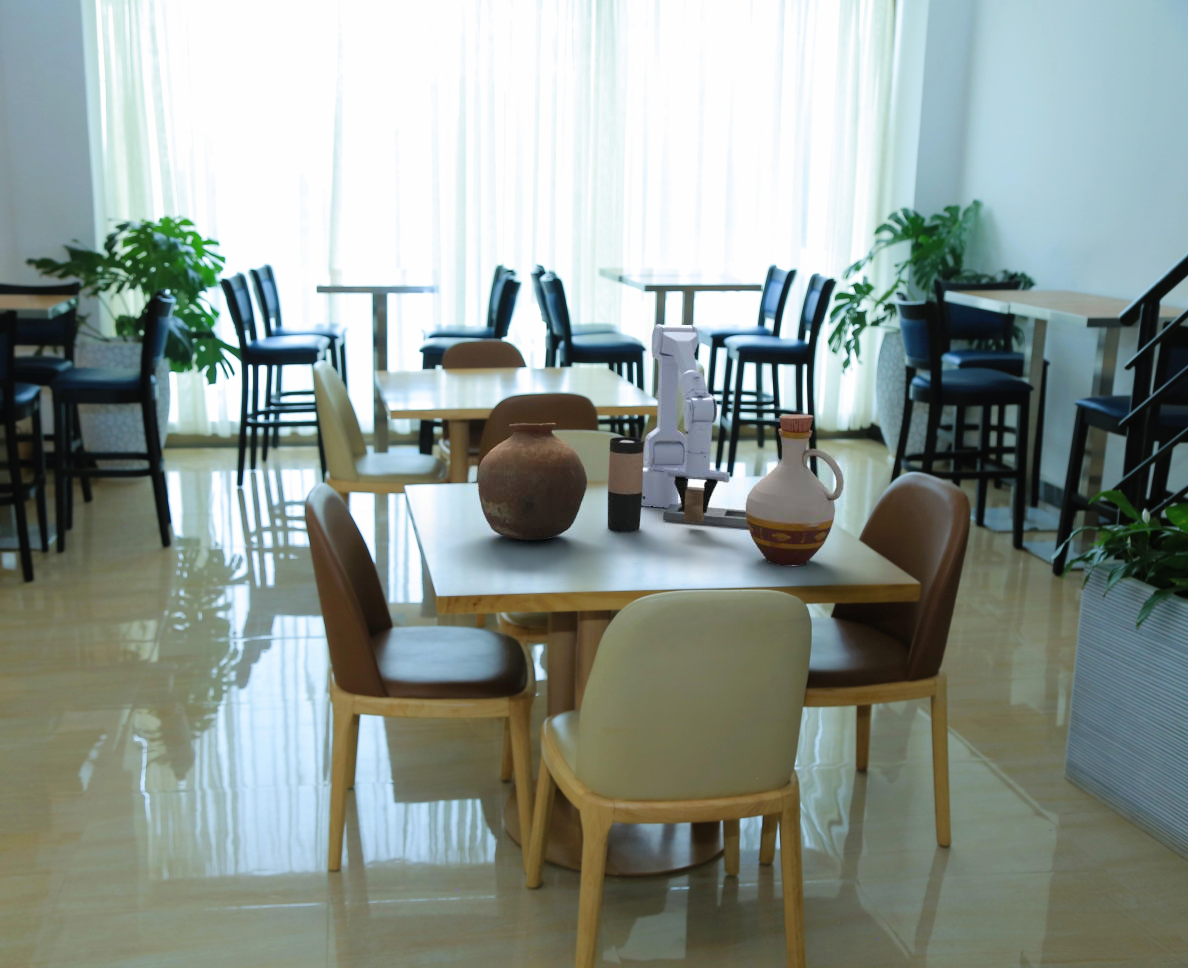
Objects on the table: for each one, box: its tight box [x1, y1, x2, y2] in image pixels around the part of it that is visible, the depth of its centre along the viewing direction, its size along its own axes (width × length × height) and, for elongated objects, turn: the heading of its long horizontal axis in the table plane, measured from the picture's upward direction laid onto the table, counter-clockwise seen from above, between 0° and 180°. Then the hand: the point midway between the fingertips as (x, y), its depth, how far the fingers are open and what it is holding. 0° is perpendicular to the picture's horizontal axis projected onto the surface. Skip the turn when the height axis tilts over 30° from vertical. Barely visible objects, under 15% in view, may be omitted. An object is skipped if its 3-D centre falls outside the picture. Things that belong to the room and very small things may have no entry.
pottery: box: [477, 422, 588, 541], centre depth 251 cm, size 23×23×25 cm
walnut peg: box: [684, 486, 705, 523], centre depth 264 cm, size 4×4×7 cm
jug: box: [745, 414, 845, 566], centre depth 238 cm, size 20×18×30 cm
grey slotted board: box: [662, 504, 749, 529], centre depth 274 cm, size 22×9×2 cm, turn 76°
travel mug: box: [607, 436, 645, 533], centre depth 262 cm, size 8×8×20 cm
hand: (694, 511), depth 265 cm, fingers closed on walnut peg, 4 cm apart
